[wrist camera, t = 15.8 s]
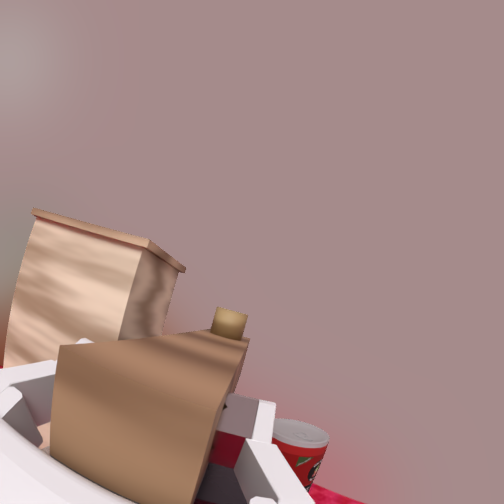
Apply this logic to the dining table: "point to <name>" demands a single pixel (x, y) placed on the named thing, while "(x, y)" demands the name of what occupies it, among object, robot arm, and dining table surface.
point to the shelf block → (85, 290)
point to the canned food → (300, 447)
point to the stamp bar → (146, 408)
